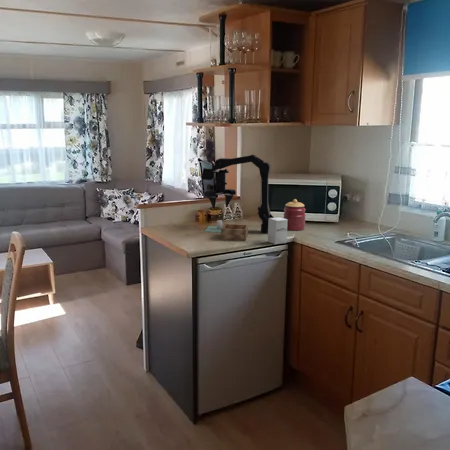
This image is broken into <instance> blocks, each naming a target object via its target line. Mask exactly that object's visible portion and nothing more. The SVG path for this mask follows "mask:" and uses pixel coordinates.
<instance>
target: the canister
mask: <svg viewBox="0 0 450 450" xmlns="http://www.w3.org/2000/svg"><path fill="white" fill-rule="evenodd" d="M306 210H307V209H306V208H305V204H304V203H302V202H299V201H298V200H297V199H296V198H294V199H292V201H289V202H287V203H286V204H285V206H284V207H283V211H284V213H283V218H284V219H287V220H288V222H287V231H296V232H297V231H303V230H305V228H306Z"/></svg>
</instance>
